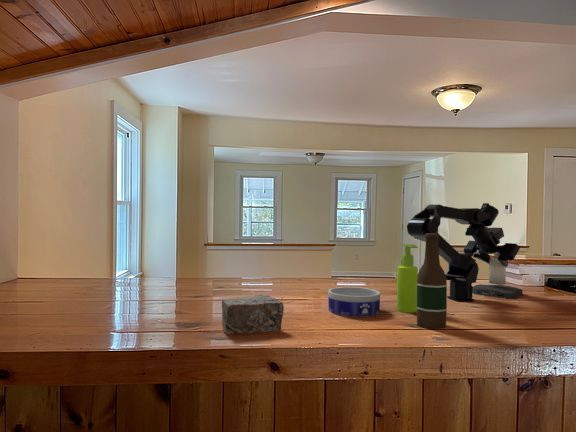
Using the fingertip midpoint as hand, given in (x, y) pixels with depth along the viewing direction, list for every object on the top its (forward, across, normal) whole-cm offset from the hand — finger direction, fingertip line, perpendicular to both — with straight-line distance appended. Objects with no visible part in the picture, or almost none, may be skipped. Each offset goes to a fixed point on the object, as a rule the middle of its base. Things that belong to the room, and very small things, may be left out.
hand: (499, 265), depth 151 cm
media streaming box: (+7, 0, +9) cm, 11 cm away
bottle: (+4, 0, +6) cm, 7 cm away
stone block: (-63, +3, +79) cm, 101 cm away
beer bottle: (-33, -17, +49) cm, 62 cm away
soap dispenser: (-28, -3, +44) cm, 52 cm away
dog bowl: (-38, +5, +54) cm, 66 cm away
